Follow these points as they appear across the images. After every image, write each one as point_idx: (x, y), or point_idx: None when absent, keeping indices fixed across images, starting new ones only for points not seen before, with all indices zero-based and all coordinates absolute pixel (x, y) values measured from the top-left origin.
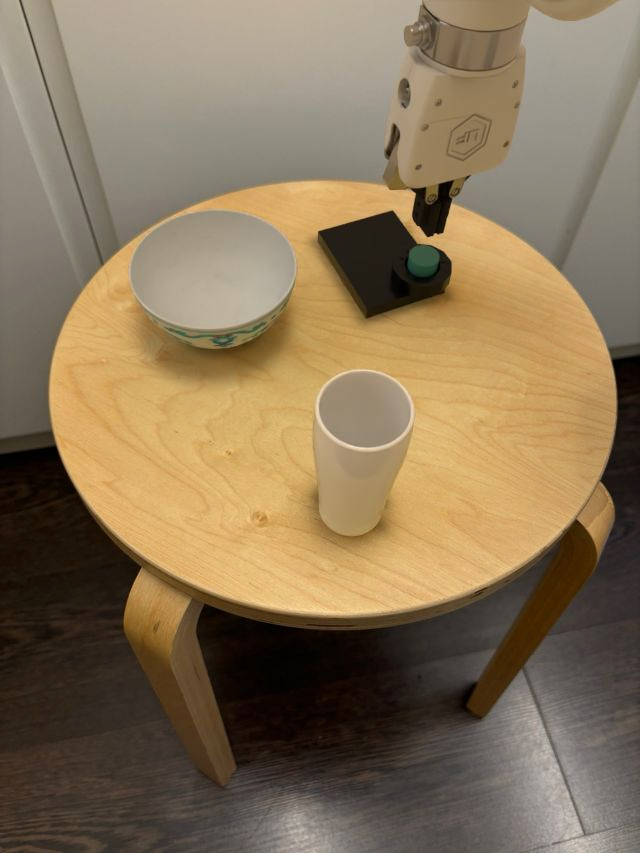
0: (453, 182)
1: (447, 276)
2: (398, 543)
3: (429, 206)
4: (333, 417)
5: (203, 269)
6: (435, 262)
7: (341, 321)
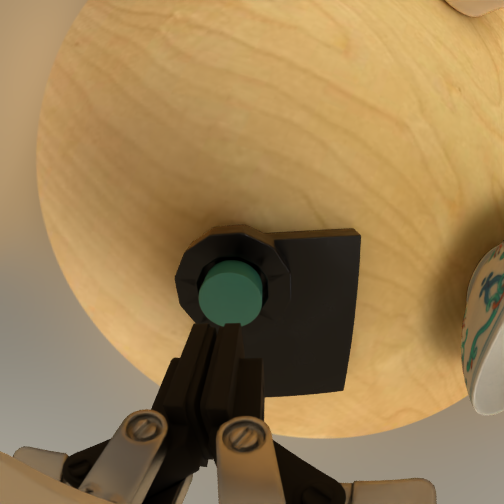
0: (147, 468)
1: (196, 246)
2: None
3: (236, 405)
4: None
5: (492, 349)
6: (214, 277)
7: (389, 236)
